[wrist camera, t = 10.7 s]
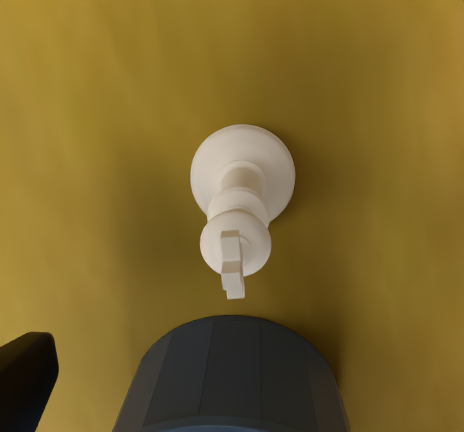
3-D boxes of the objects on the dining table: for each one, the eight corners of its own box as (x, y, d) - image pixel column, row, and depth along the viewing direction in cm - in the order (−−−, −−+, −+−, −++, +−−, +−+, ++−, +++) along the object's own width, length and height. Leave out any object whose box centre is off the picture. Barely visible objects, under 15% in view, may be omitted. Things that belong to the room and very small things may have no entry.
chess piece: (292, 118, 17) (339, 167, 8) (297, 221, 19) (340, 363, 10) (183, 129, 18) (106, 187, 8) (197, 229, 19) (145, 372, 10)
